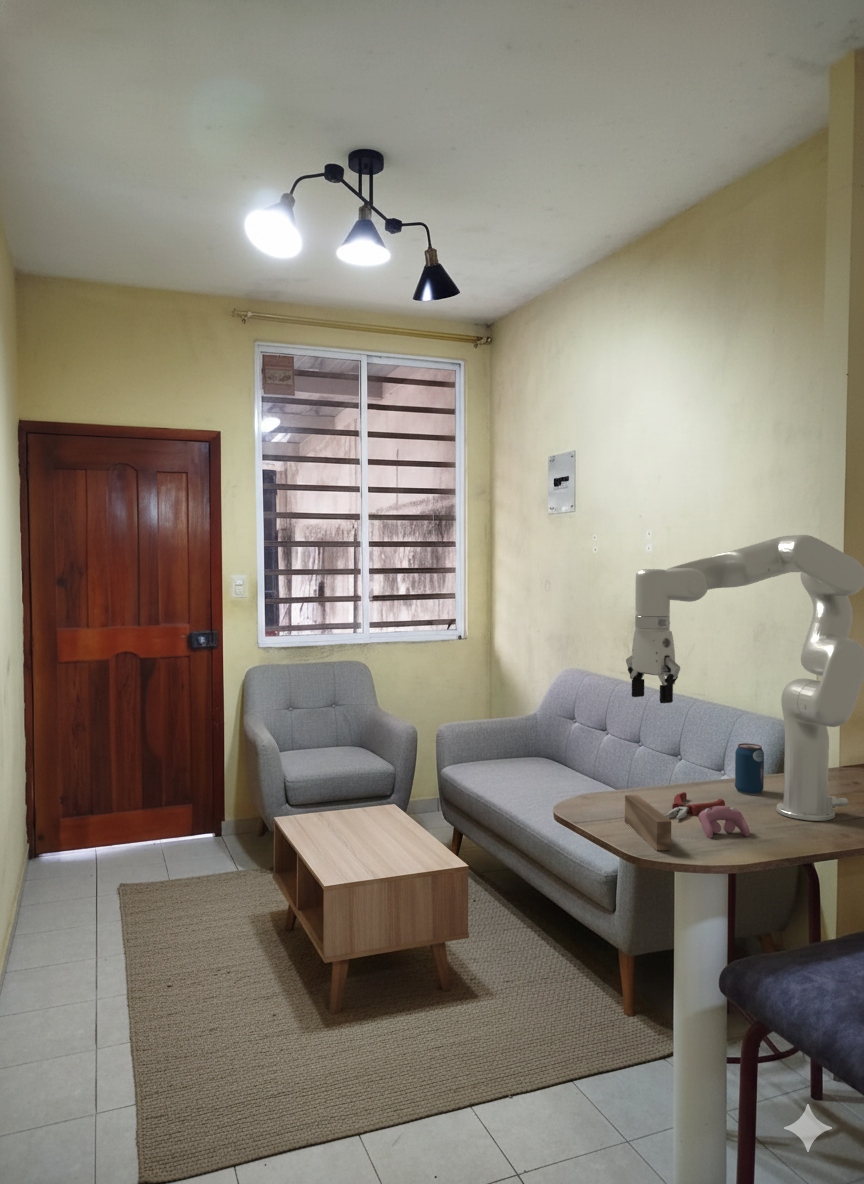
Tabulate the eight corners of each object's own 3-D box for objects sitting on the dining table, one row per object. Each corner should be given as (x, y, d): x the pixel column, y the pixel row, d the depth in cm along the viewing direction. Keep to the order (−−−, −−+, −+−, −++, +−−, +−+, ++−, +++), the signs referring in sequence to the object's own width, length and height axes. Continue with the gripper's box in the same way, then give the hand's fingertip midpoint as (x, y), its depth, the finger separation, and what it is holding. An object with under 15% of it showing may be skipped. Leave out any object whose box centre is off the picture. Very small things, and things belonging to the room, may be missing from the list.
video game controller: (742, 839, 186) (736, 806, 189) (752, 835, 182) (745, 802, 185) (700, 841, 185) (694, 808, 188) (709, 837, 181) (702, 804, 184)
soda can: (768, 795, 217) (769, 748, 216) (741, 795, 216) (742, 748, 216) (756, 788, 224) (756, 742, 223) (730, 788, 223) (731, 742, 223)
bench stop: (637, 821, 193) (638, 795, 193) (670, 850, 173) (671, 821, 173) (624, 821, 193) (625, 795, 193) (656, 851, 173) (657, 821, 173)
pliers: (646, 818, 198) (646, 807, 197) (681, 800, 213) (681, 790, 213) (694, 828, 190) (695, 816, 190) (726, 809, 206) (727, 798, 206)
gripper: (692, 625, 186) (691, 704, 187) (641, 621, 202) (640, 693, 202) (664, 626, 183) (664, 706, 183) (615, 622, 199) (614, 695, 199)
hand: (651, 699), depth 193 cm, fingers open, 9 cm apart
